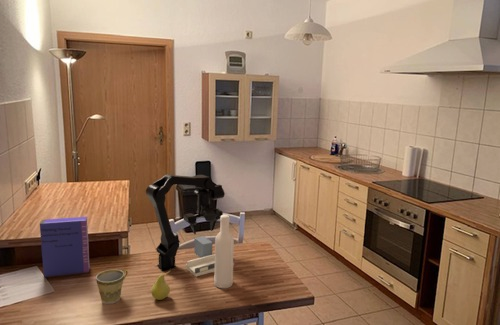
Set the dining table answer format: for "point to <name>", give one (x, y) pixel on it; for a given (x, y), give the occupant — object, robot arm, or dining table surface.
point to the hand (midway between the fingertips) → (203, 232)
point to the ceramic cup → (110, 285)
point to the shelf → (202, 265)
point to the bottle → (224, 255)
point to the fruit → (160, 288)
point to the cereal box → (64, 246)
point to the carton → (202, 246)
